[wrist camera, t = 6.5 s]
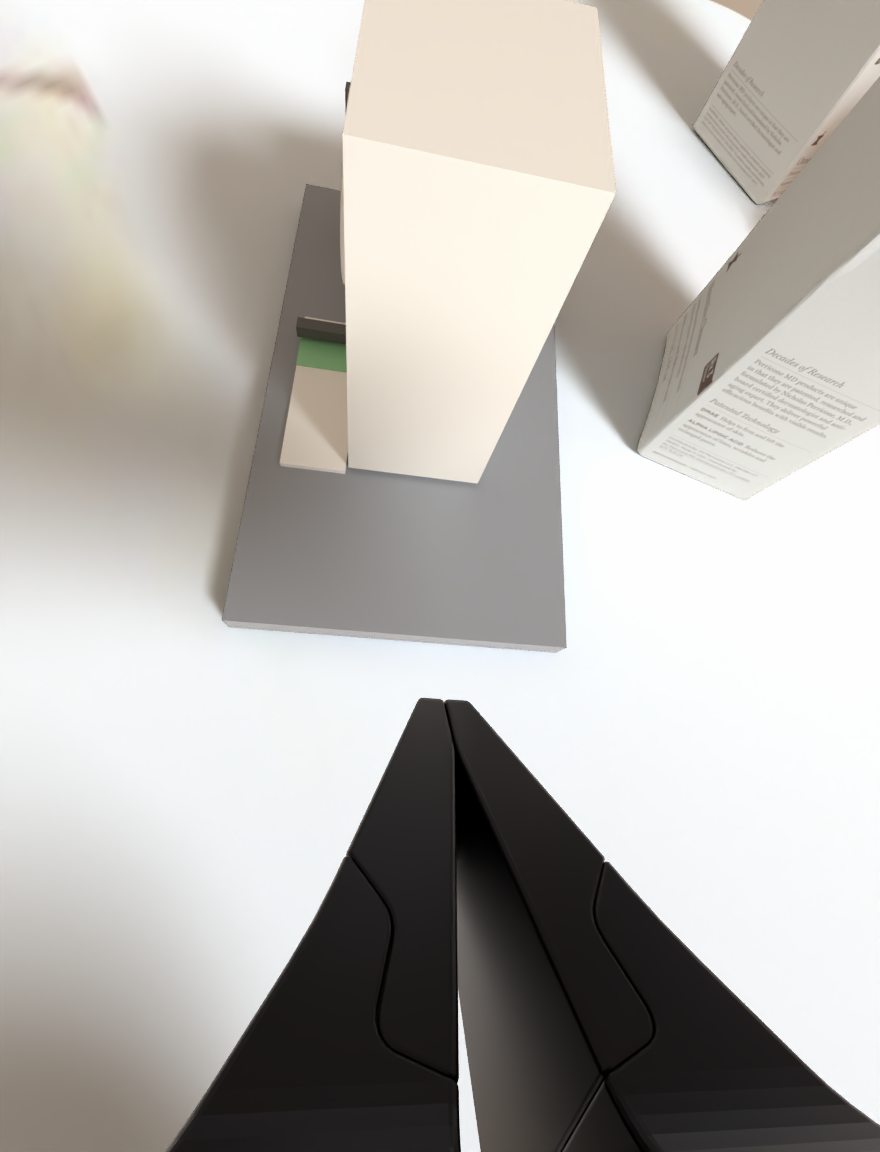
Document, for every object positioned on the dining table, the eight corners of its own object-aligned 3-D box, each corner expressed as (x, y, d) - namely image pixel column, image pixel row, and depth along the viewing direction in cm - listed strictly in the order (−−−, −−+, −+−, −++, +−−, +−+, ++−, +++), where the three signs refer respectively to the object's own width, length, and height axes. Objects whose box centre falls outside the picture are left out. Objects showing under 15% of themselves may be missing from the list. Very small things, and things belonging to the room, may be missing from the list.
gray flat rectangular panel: (555, 652, 19) (569, 646, 18) (228, 626, 17) (219, 618, 16) (543, 251, 26) (552, 228, 25) (308, 205, 24) (305, 178, 23)
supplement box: (756, 210, 30) (1016, -134, 18) (688, 127, 32) (886, -238, 20) (836, 189, 32) (1115, -131, 20) (768, 113, 34) (990, -226, 22)
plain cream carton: (477, 483, 20) (615, 193, 9) (277, 458, 18) (182, 99, 8) (482, 298, 23) (589, -73, 12) (310, 267, 22) (272, -167, 11)
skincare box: (664, 334, 26) (1035, -156, 12) (770, 379, 26) (1259, -48, 12) (631, 464, 23) (1077, 15, 9) (752, 514, 23) (1374, 154, 9)
